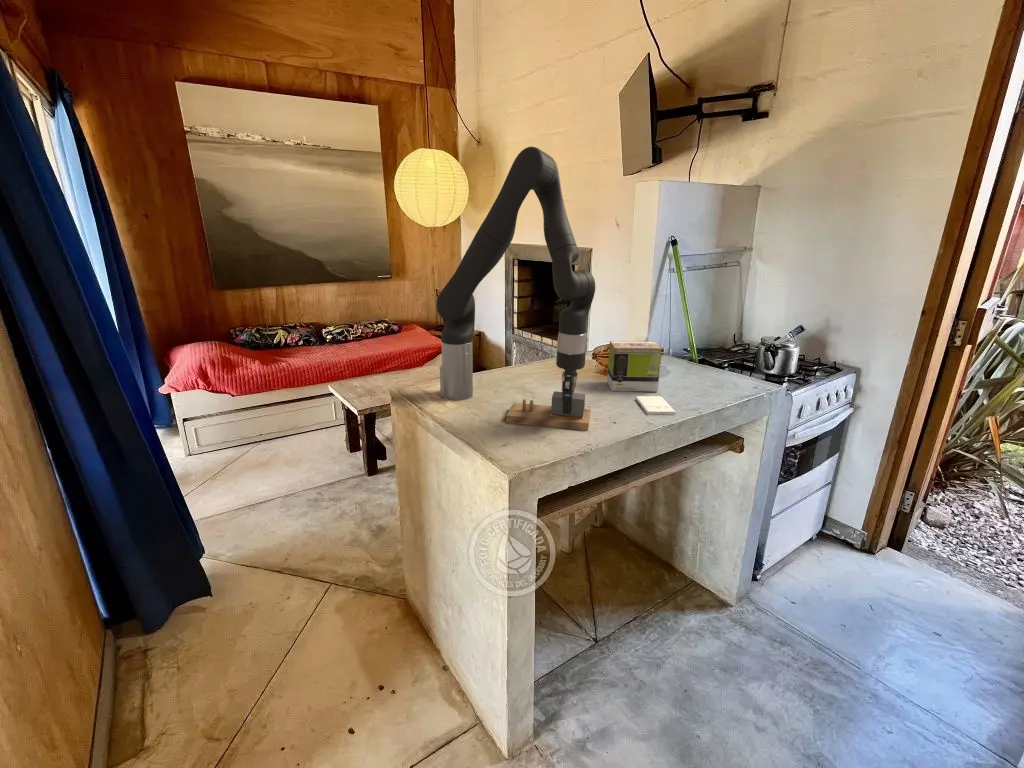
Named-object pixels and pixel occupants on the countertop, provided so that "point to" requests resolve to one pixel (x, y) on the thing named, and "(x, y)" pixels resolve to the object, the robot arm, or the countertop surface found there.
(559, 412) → the block
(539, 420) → the board
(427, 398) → the countertop surface
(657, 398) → the external hard drive
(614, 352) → the tea box
